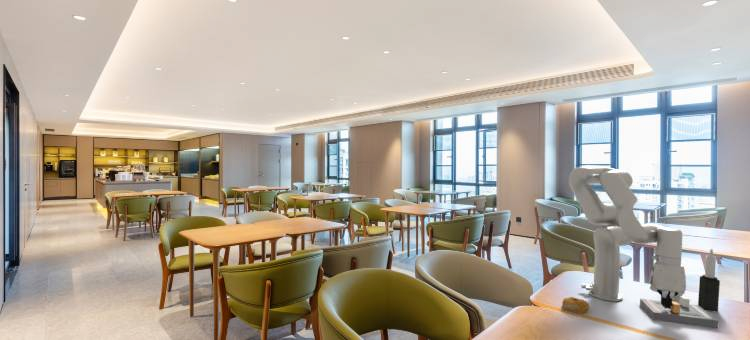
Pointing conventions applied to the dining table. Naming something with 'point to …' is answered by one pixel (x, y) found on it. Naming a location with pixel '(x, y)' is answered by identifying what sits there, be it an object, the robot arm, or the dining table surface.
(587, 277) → the dining table surface
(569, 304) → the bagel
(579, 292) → the dining table surface
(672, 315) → the breaker panel
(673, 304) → the breaker handle
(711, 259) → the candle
